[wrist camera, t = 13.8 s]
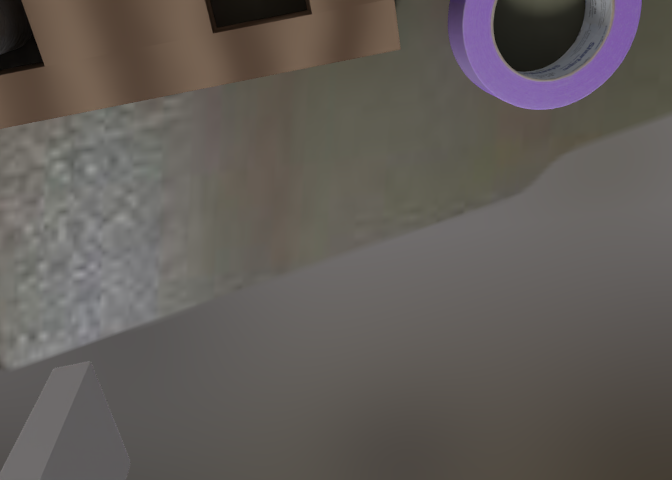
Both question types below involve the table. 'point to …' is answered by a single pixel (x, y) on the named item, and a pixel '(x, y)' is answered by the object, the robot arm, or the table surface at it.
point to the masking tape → (555, 79)
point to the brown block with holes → (175, 50)
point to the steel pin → (13, 26)
